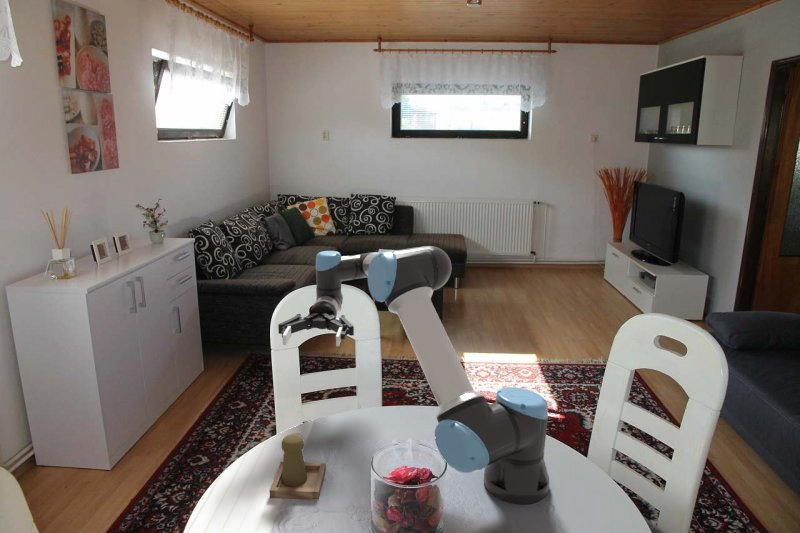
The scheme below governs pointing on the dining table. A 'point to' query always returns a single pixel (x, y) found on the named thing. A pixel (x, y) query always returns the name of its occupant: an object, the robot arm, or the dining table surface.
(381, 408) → the dining table surface
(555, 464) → the dining table surface
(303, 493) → the tray
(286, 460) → the cork
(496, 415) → the robot arm
